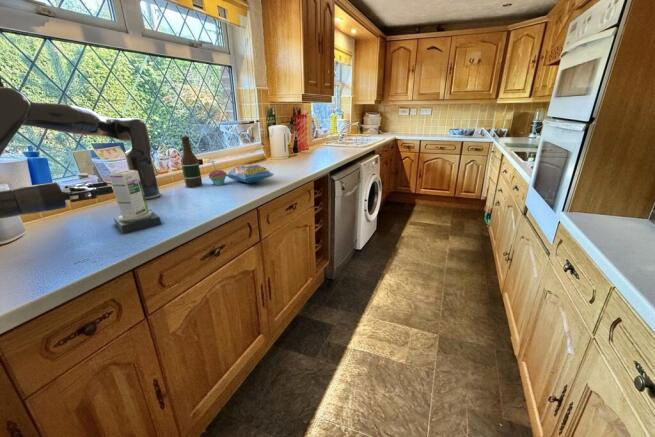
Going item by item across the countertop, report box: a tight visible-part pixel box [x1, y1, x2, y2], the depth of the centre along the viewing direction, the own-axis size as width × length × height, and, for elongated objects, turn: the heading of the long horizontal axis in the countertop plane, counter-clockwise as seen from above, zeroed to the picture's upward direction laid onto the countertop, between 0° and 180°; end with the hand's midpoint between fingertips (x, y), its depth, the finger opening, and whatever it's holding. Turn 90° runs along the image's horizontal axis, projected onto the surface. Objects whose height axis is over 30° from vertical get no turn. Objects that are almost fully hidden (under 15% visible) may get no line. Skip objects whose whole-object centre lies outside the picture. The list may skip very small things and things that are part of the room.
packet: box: [226, 164, 275, 185], centre depth 153 cm, size 17×24×8 cm
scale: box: [113, 208, 162, 234], centre depth 101 cm, size 12×11×3 cm
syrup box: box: [108, 169, 149, 217], centre depth 98 cm, size 6×6×14 cm
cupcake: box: [208, 159, 228, 186], centre depth 151 cm, size 9×8×12 cm
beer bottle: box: [180, 135, 203, 188], centre depth 147 cm, size 8×8×24 cm
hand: (109, 187), depth 94 cm, fingers open, 8 cm apart
